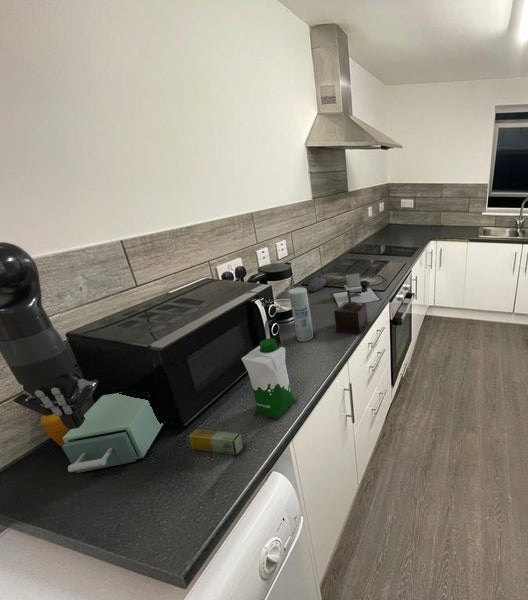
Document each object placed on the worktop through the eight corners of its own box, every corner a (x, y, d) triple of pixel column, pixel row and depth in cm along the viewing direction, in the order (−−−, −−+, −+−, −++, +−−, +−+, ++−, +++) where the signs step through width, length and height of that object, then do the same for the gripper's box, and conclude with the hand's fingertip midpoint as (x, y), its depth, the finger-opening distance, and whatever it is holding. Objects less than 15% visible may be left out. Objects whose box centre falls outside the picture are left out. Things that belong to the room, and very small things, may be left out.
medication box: (244, 447, 77) (241, 433, 76) (236, 455, 75) (234, 441, 74) (199, 441, 79) (196, 427, 78) (190, 449, 76) (187, 435, 75)
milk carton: (298, 400, 92) (287, 340, 85) (277, 422, 84) (262, 358, 77) (274, 394, 95) (260, 335, 87) (251, 415, 87) (234, 352, 80)
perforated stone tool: (313, 294, 170) (311, 282, 168) (304, 293, 172) (303, 281, 170) (328, 285, 183) (327, 273, 180) (321, 284, 185) (319, 273, 182)
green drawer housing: (143, 457, 75) (128, 426, 72) (80, 470, 73) (61, 438, 69) (168, 415, 88) (157, 386, 85) (116, 424, 86) (102, 395, 82)
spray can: (297, 342, 123) (288, 294, 116) (296, 335, 129) (288, 288, 121) (314, 339, 125) (307, 291, 118) (313, 332, 131) (305, 286, 123)
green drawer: (125, 477, 69) (111, 451, 66) (62, 490, 67) (45, 463, 64) (161, 420, 85) (151, 396, 82) (111, 428, 83) (99, 405, 80)
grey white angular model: (379, 299, 160) (378, 278, 156) (338, 306, 154) (336, 284, 150) (370, 288, 177) (368, 267, 173) (332, 293, 171) (330, 273, 166)
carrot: (67, 459, 76) (37, 409, 70) (54, 454, 77) (24, 404, 71) (92, 443, 80) (65, 395, 74) (79, 439, 81) (52, 391, 76)
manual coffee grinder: (361, 334, 128) (357, 292, 121) (335, 332, 130) (330, 290, 123) (373, 317, 142) (370, 279, 135) (350, 315, 144) (346, 278, 137)
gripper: (91, 338, 64) (123, 407, 70) (10, 348, 61) (51, 419, 68) (65, 358, 57) (103, 432, 64) (-28, 370, 54) (22, 447, 61)
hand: (76, 425), depth 65 cm, fingers closed
